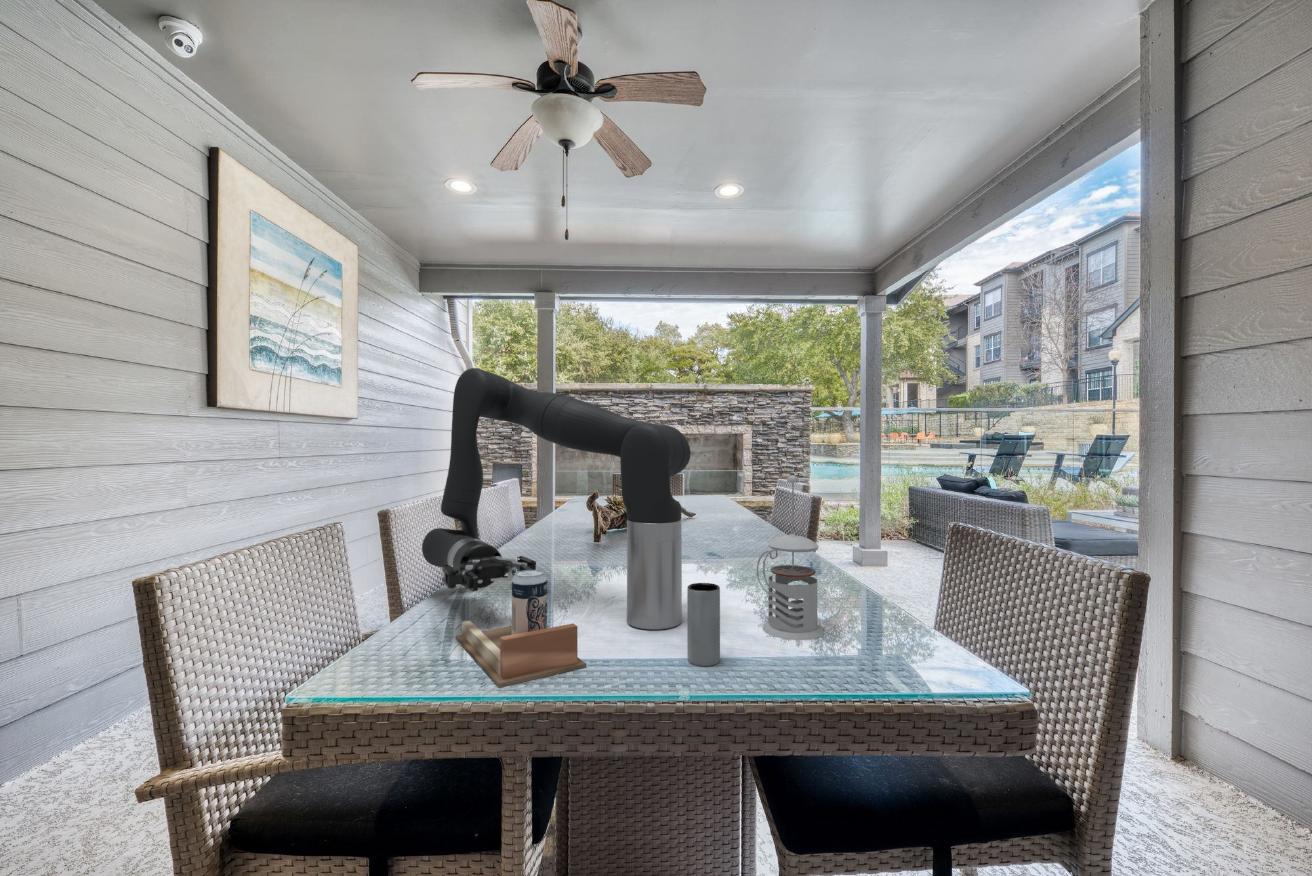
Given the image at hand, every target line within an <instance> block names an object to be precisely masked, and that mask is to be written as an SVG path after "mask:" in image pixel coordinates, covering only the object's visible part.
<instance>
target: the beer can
mask: <svg viewBox="0 0 1312 876" xmlns="http://www.w3.org/2000/svg"><path fill="white" fill-rule="evenodd" d="M511 626H512V635H514V634H519V633H525V632H530V631H535V630H541V629H546V628H547V627H548V578H547V576H546V573H545V572H544V570H540V569H539V570H538V569H536V570H524V571H518V572H517V571H516V573H515V575H514V577H513V579H512V581H511Z"/></svg>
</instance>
